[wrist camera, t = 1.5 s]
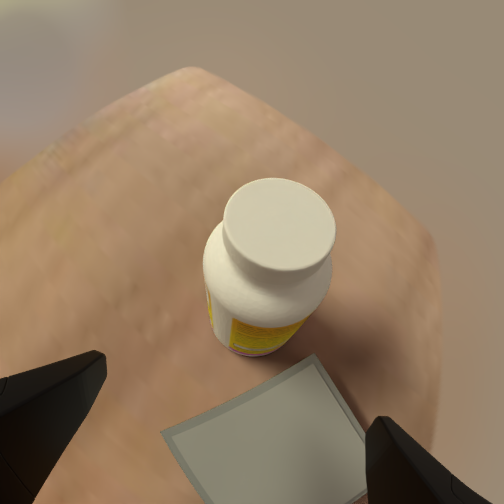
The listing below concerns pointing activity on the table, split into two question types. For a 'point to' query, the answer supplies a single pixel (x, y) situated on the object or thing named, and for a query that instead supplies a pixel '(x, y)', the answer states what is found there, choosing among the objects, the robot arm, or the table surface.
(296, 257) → the supplement bottle
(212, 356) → the table surface
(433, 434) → the table surface
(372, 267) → the table surface
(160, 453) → the table surface
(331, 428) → the slate base
